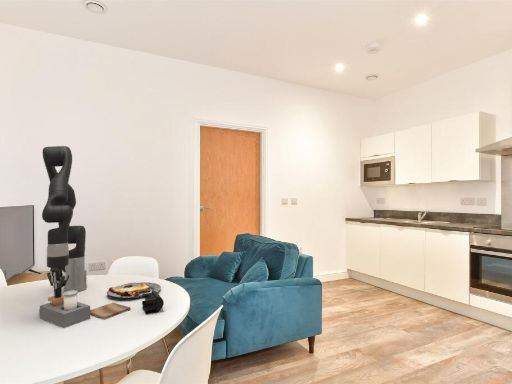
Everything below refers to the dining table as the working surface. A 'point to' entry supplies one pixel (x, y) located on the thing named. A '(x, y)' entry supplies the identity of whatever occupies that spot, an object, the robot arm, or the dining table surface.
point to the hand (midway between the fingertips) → (57, 297)
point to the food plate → (133, 290)
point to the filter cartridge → (70, 300)
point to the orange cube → (56, 300)
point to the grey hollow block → (64, 314)
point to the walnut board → (108, 310)
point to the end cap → (152, 302)
